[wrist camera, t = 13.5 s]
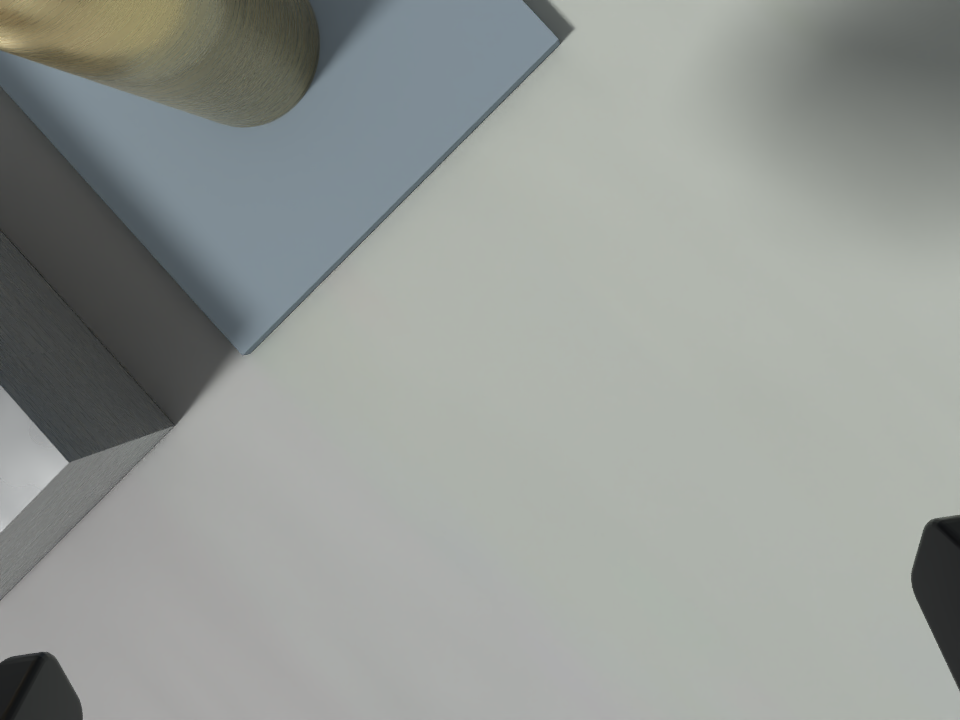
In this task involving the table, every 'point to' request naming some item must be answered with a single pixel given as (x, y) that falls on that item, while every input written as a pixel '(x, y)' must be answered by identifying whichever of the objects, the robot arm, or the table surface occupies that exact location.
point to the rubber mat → (290, 148)
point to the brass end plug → (177, 50)
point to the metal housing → (58, 418)
